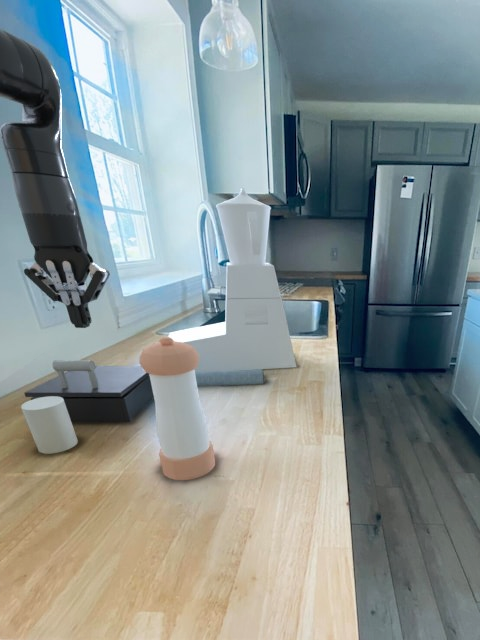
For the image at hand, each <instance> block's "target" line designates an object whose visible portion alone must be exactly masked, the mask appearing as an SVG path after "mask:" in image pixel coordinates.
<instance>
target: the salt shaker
mask: <svg viewBox="0 0 480 640" xmlns="http://www.w3.org/2000/svg"><path fill="white" fill-rule="evenodd" d="M159 339H160V340H159V341H158V342H155V343H151V344H150V345H149V346H147V347H144V348H143V349H142V351H141V353H140V354H139V359H138V361H139V362H138V363H139V366H141V367H142V368H143V369H144V371H145V372H146V373H149V376H150V380H151V385H152V390H153V395H154V398H153V399H154V406H155V407H154V408H155V431H156V435H157V439H158V443H159V447H160V449H159V453H158V457H159V461H160V465H161V469H162V473H163V475H164V476H165V477H166V478H169V479H170V480H171V479H172V480H174V481H189V480H195V479H197V478H201V477H203V476H205V475H207V474H208V473H210V472H211V471H212V470H214V468H215V466H216V458H215V449H214V444H213V442H212V441H211V440H210V435H209V425H208V421H207V417H206V414H205V412H204V408H203V405H202V402H201V400H200V395H199V390H198V386H197V382H196V376H195V370H194V369H195V368H196V367H197V366H198V363H199V355H198V353H197V351H196V350H195V349H194V348H193V347H192V346H191V345H189V344H186V343H183V342H178V341H174V340H173V339H172V338H171V337H168V336H162V337H161V338H159Z"/></svg>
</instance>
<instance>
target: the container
mask: <svg viewBox="0 0 480 640" xmlns="http://www.w3.org/2000/svg"><path fill="white" fill-rule="evenodd" d="M20 408H21V412H22V413H23V417H24V419H25V421H26V424H27V426H28V428H29V431H30V433H31V436H32V438H33V441H34V443H35V446H36V448H37V450H38V452H39V453H40V454H48V455H49V454H57V453H61V452H65V451H67V450H68V451H69V450H70V449H72V448H73V447H75V446H76V445H77V444H78V442H79V440H78V438H77V434H76V432H75V428H74V426H73V422H71V420H70V417H69V414H68V411H67V408H66V405H65V402H64V399H63V398H62V397H58V396H48V397H41V398H36V399H33V400H31V399H30V400H28V401H26V402H24V403H22V404H21V406H20Z"/></svg>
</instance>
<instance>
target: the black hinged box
mask: <svg viewBox="0 0 480 640" xmlns="http://www.w3.org/2000/svg"><path fill="white" fill-rule="evenodd" d="M36 398H41V397H30V400H33V399H36ZM62 398H63V399H64V402H65V405H66V408H67V411H68V414H69V417H70V420H71V422H72V423H131V422H132V421H133V420H134V419H135V418H136V417H137V416H138V415H139V414H140V413H141V412H142V411H143V409H145V408H146V406H147V405H148V404H149V403H150V402H151V401H152V400H153V399H154V395H153V390H152V385H151V380H150V376H148V377H146V378H145V379H144V380H142V381H141V382H140V383H138V384H137V385H136V386H135V387H133V388H132V389H131V390H129V391H128V392H127V393H126V394H124V395H123V396H122V397H62Z"/></svg>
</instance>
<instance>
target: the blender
mask: <svg viewBox="0 0 480 640" xmlns="http://www.w3.org/2000/svg"><path fill="white" fill-rule="evenodd" d="M215 208H216V210H217V214H218V218H219V222H220V226H221V231H222V235H223V239H224V243H225V248H226V252H227V256H228V260H229V262H228V261H227V262H226V263H225V265H226V266H225V267H226V269H225V270H226V271H225V273H226V274H225V306H224V307H225V312H224V313H225V314H224V315H225V318H224V321H222V322H216V323H211V324H206V325H201V326H196V327H195V326H194V327H191V328H184V329H180V330H175V331H170V332H169V334H168V336H167V337H171V338H172V339H173V340H174V341H178V342H183V343H186V344H189V345H191V346H192V347H193V348H194V349H195V350H196V351H197V353H198V355H199V363H198V366H197V367H196V368H195V369H194V370H195V372H214V371H240V370H270V369H273V370H274V369H287V368H288V369H290V368H297V362H296V358H295V353H294V348H293V343H292V338H291V333H290V329H289V326H288V325H289V324H288V321H287V315H286V311H285V307H284V303H283V298H282V294H281V290H280V287H279V282H278V277H277V273H276V269H275V265H273V264H272V263H270V262H267V261H266V260H267V259H266V258H267V252H268V251H267V250H268V239H269V229H270V228H269V227H270V218H271V210H272V207H271V206H270V205H268V204H265V203H263V202H261V201H259V200H256V199H254V198H252V197H251V196H250V195H248V193H247V192H246V190H245V188H240V190H239V192H238V194H237V195H236V196H235V197H232V198H230V199H227V200H224V201H222V202H219V203H217V204H215Z"/></svg>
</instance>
